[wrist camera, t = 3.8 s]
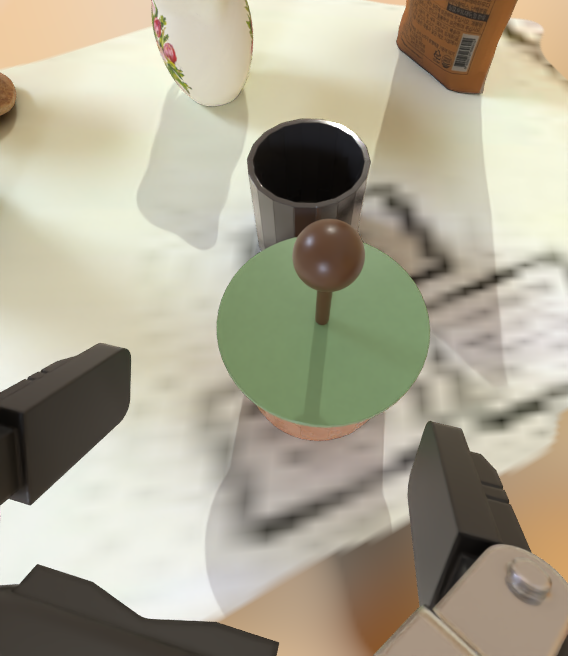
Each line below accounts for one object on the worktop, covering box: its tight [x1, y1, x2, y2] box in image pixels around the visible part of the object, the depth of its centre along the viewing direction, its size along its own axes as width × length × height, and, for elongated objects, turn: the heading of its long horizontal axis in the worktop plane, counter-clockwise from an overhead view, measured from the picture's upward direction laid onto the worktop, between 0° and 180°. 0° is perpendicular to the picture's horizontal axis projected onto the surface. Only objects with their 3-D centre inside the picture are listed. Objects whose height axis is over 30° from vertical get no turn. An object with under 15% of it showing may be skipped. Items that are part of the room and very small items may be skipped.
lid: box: [217, 219, 430, 428], centre depth 24 cm, size 14×14×10 cm
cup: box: [247, 119, 371, 251], centre depth 38 cm, size 10×10×10 cm
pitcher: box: [151, 0, 253, 106], centre depth 47 cm, size 11×18×14 cm, turn 27°
